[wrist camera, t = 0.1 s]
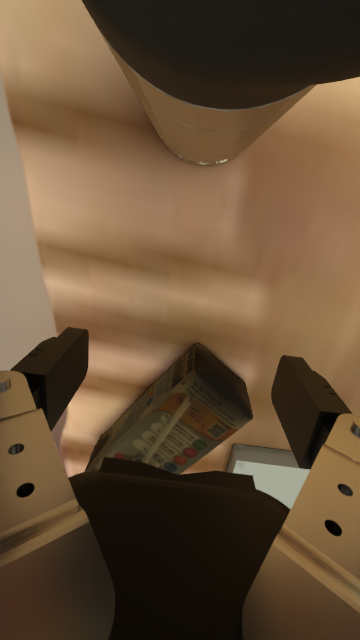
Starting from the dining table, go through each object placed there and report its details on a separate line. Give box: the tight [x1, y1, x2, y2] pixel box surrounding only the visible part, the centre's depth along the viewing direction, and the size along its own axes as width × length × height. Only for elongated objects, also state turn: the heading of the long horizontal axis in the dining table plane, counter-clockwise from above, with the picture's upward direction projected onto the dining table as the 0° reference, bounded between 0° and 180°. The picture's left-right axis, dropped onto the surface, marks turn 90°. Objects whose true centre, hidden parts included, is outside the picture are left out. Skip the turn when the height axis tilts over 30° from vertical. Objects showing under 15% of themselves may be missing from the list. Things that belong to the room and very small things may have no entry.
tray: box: [226, 444, 310, 509], centre depth 37 cm, size 11×16×2 cm
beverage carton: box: [85, 343, 253, 475], centre depth 32 cm, size 8×19×7 cm, turn 139°
